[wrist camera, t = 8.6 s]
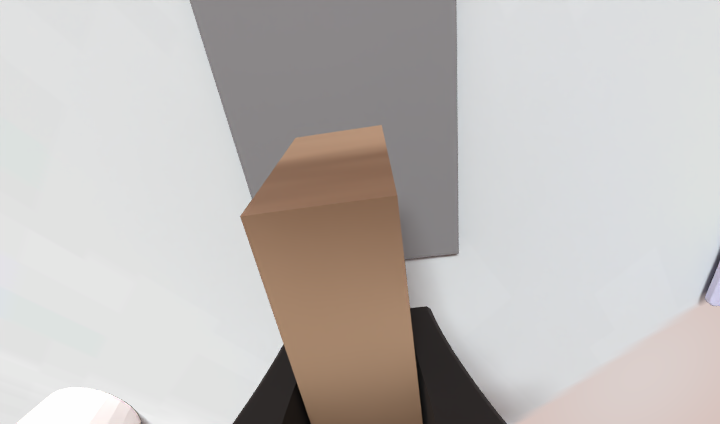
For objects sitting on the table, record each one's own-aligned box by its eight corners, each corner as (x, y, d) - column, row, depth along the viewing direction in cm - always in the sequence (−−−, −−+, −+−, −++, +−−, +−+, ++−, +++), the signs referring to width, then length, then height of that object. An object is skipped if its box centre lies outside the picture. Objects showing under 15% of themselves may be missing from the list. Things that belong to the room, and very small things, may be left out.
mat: (451, -197, 11) (454, -204, 11) (456, 249, 19) (458, 253, 18) (151, -137, 12) (145, -142, 11) (277, 269, 19) (275, 273, 19)
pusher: (220, 148, 10) (108, 234, 6) (461, 112, 10) (548, 175, 5) (312, 423, 16) (293, 574, 11) (467, 409, 15) (511, 562, 11)
